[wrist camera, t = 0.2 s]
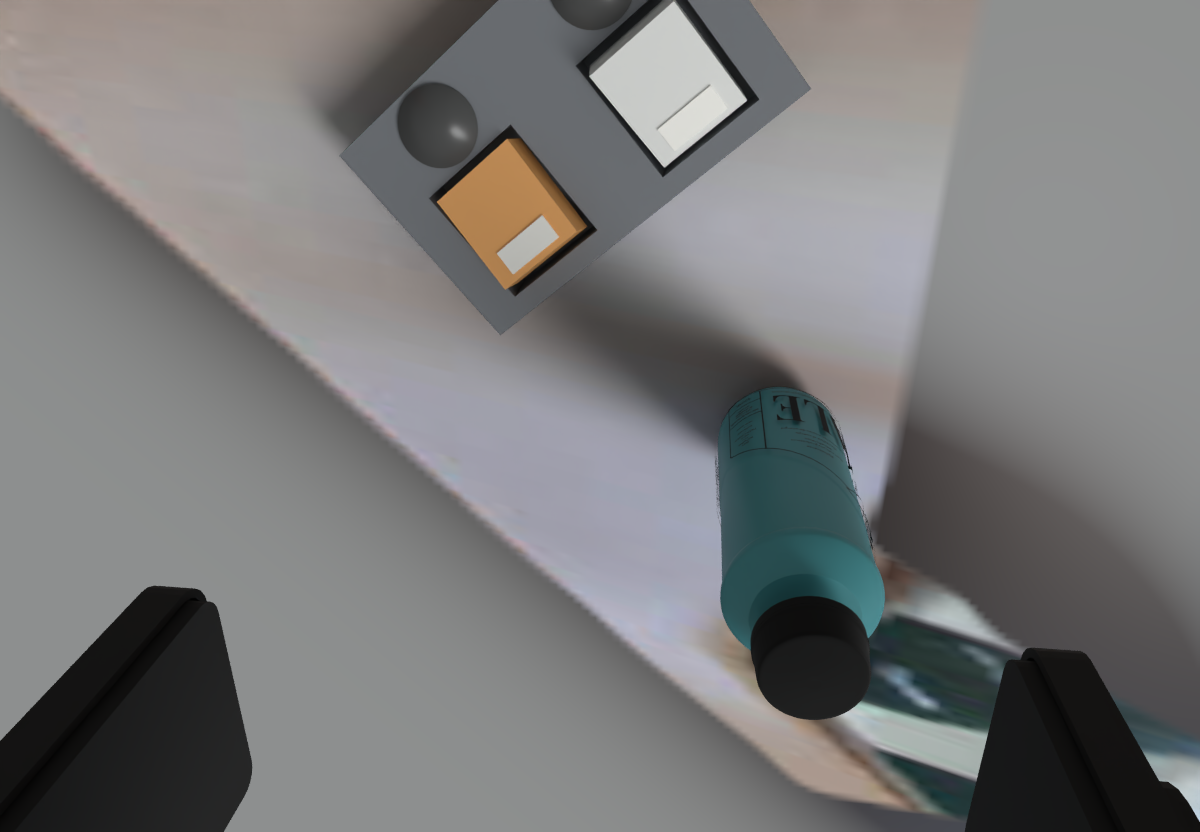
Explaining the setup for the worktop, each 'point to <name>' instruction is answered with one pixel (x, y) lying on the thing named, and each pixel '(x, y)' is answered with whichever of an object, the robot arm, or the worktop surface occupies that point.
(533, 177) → the labelled cardboard parcel
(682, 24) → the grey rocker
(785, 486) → the beverage bottle
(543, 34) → the grey switch box
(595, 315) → the worktop surface
